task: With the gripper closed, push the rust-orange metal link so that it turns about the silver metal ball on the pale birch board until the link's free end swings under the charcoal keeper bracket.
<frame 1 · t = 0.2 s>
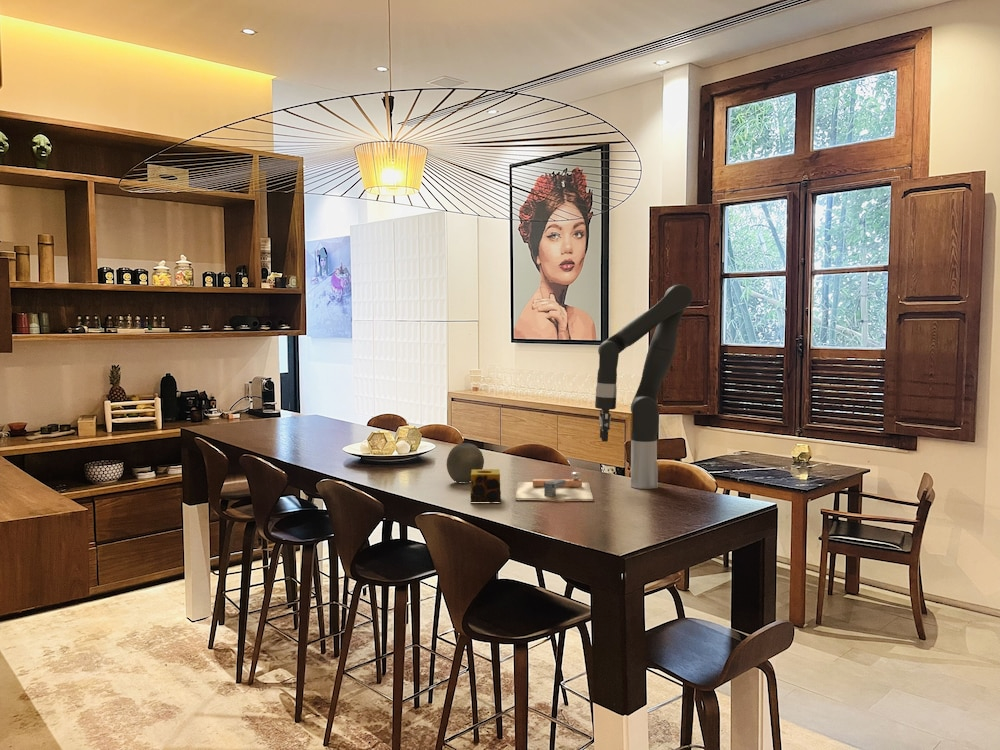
hand: (603, 439, 280), 17 cm above the table, tool pointing down, fingers open, 8 cm apart
link: (557, 482, 276), point 2 cm above the table, hinge at 0.0°
silver metal ball: (575, 476, 275), point 4 cm above the table
keeper: (554, 487, 262), on the board, point 3 cm above the table
candle: (485, 501, 257), on the table
board: (553, 492, 270), on the table
dark grey ball: (465, 483, 288), on the table
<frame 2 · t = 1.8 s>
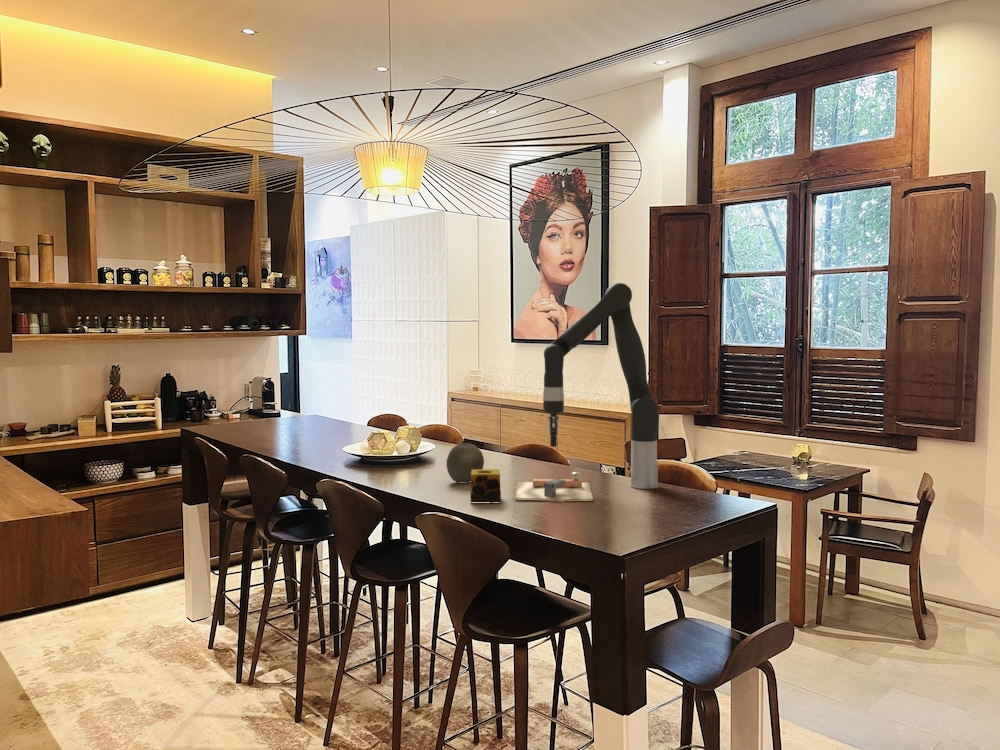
hand: (553, 446, 280), 15 cm above the table, tool pointing down, fingers closed
nothing on the table moved.
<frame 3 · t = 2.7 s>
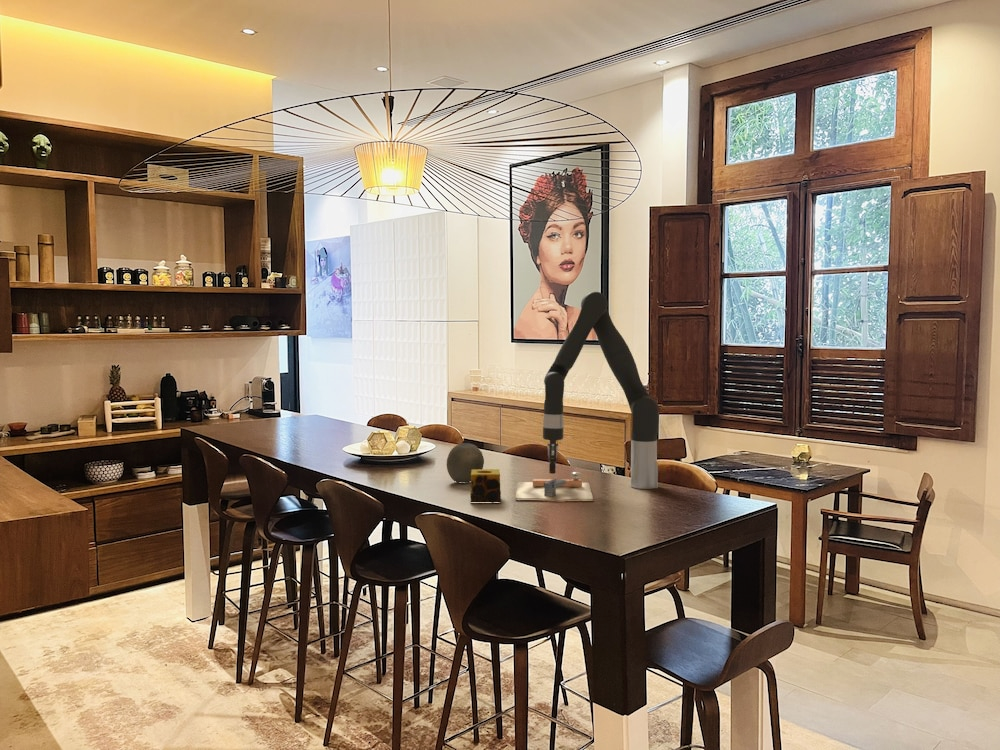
hand: (552, 473, 281), 5 cm above the table, tool pointing down, fingers closed
nothing on the table moved.
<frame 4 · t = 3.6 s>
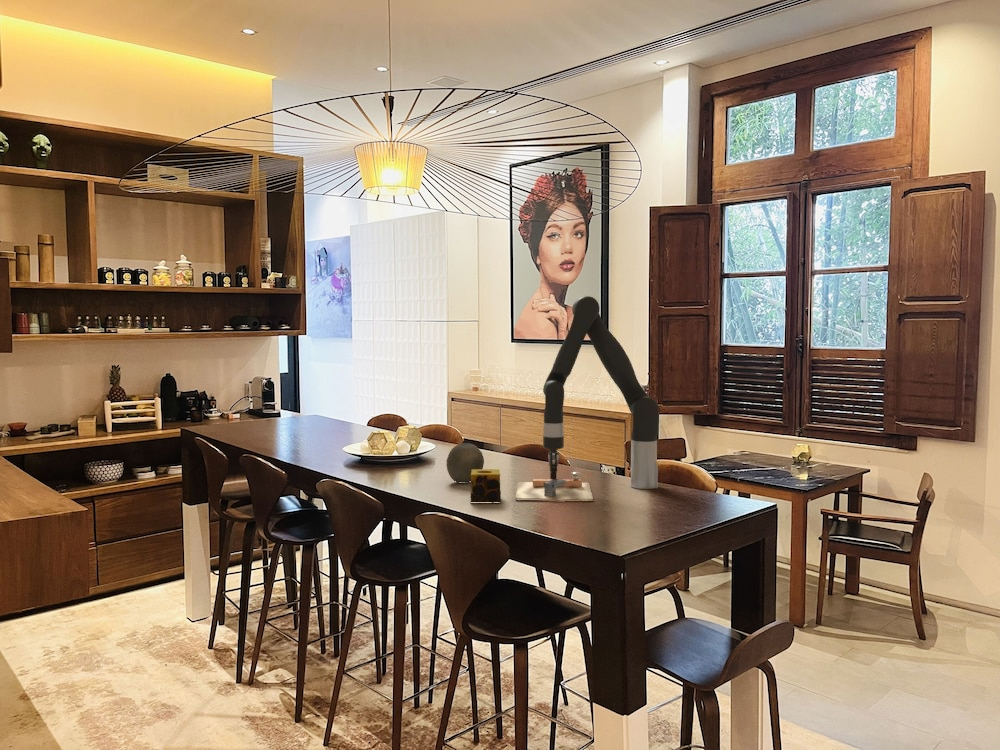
hand: (553, 482, 279), 2 cm above the table, tool pointing down, fingers closed
link: (557, 482, 276), point 2 cm above the table, hinge at 0.0°, touching gripper
everything else where it was.
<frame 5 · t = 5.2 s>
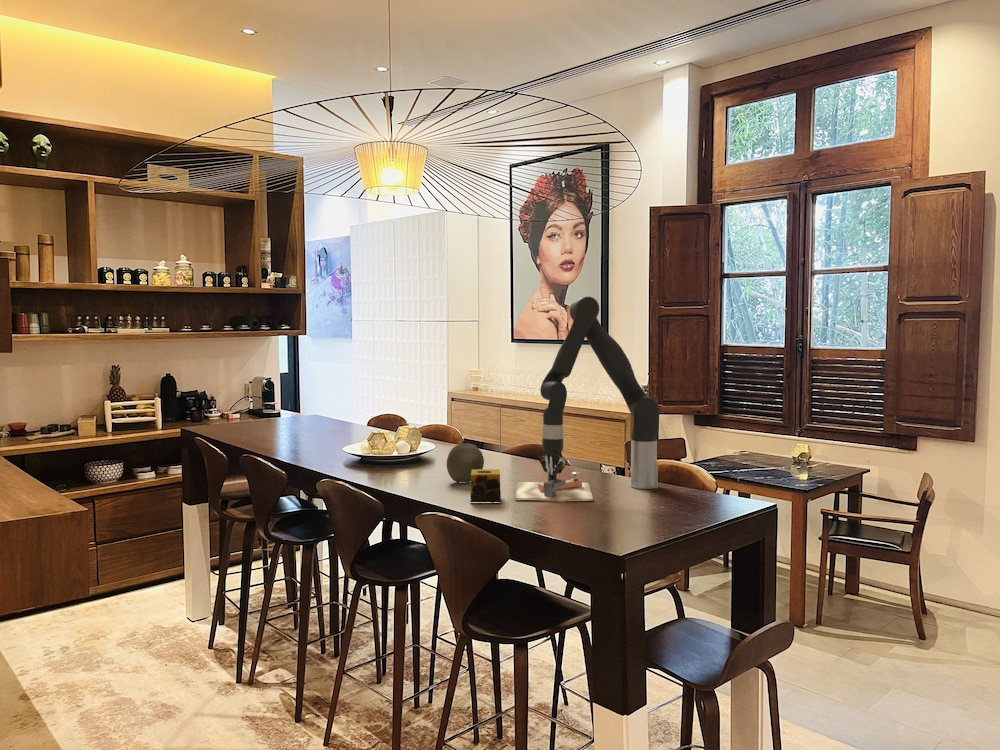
hand: (552, 484, 273), 2 cm above the table, tool pointing down, fingers closed
link: (561, 484, 272), point 2 cm above the table, hinge at 36.0°, touching gripper
everything else where it was.
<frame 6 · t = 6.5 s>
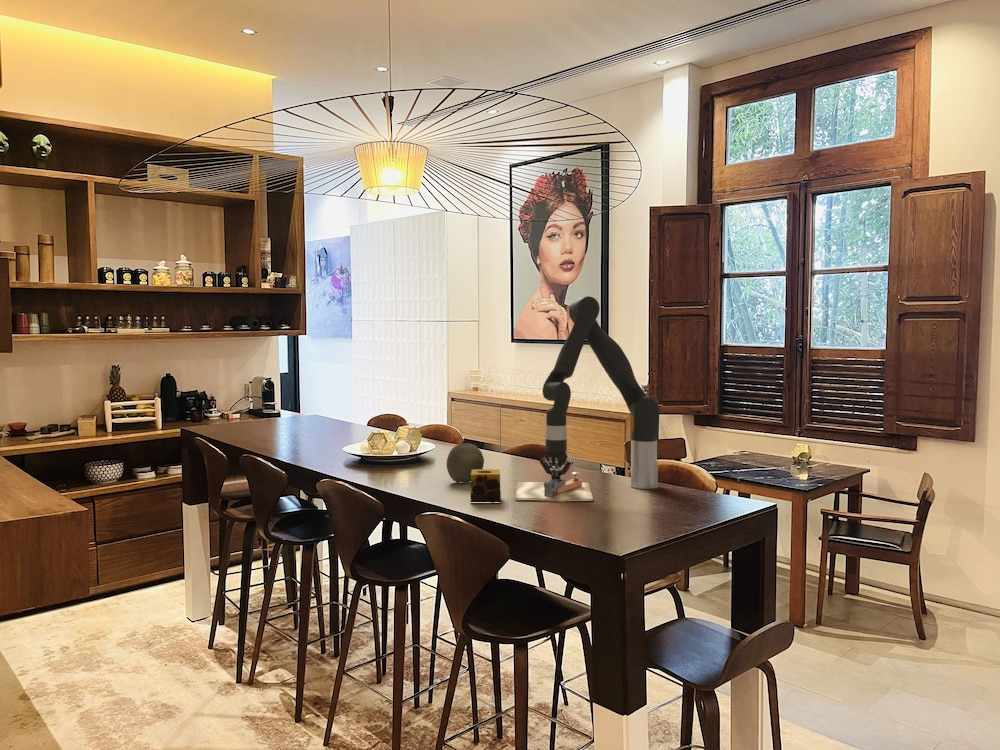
hand: (555, 486, 270), 2 cm above the table, tool pointing down, fingers closed
link: (566, 485, 270), point 2 cm above the table, hinge at 58.8°
everything else where it was.
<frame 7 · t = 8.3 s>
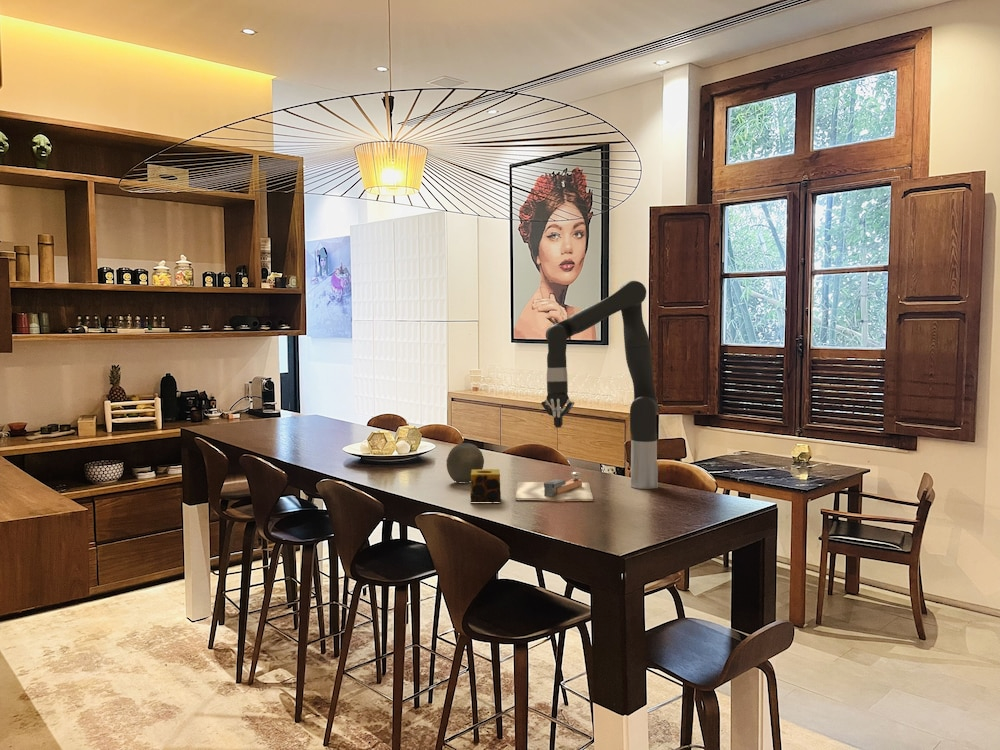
hand: (558, 427, 279), 22 cm above the table, tool pointing down, fingers closed
nothing on the table moved.
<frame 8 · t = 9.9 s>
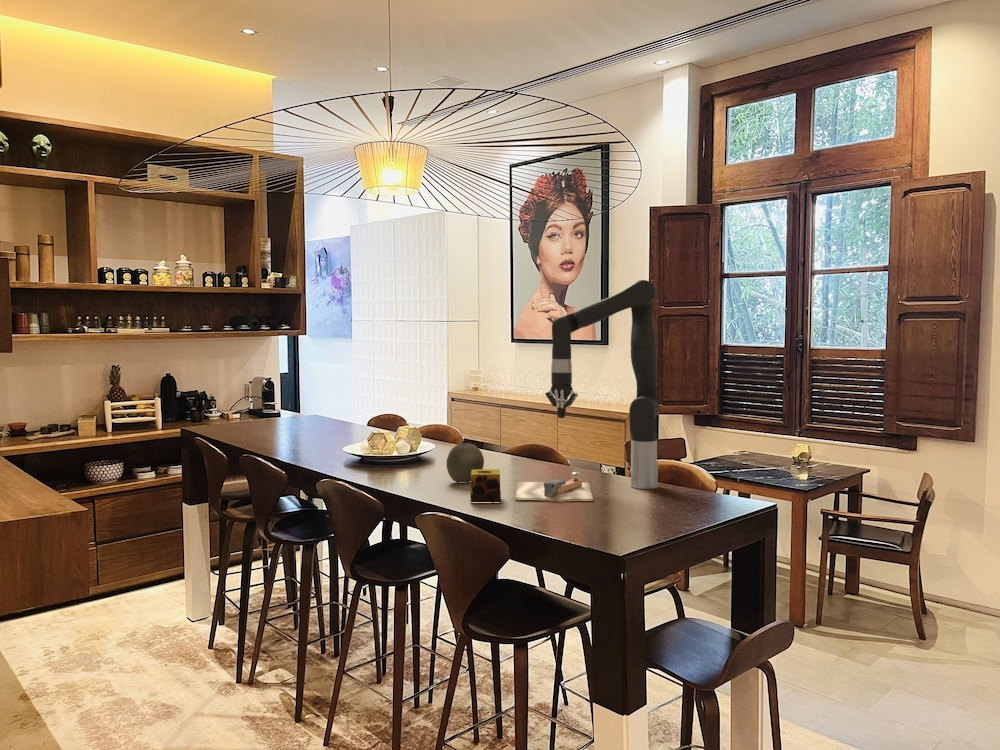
hand: (561, 418, 282), 25 cm above the table, tool pointing down, fingers closed
nothing on the table moved.
at the end: link at +59° (first picture: +0°) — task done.
